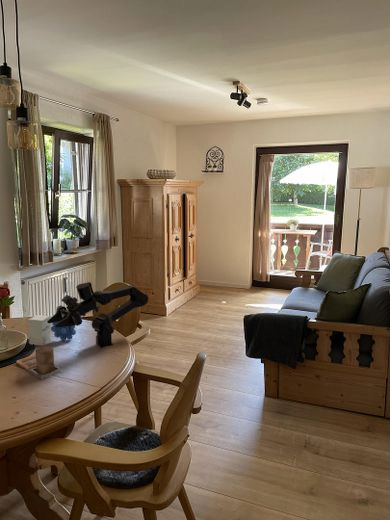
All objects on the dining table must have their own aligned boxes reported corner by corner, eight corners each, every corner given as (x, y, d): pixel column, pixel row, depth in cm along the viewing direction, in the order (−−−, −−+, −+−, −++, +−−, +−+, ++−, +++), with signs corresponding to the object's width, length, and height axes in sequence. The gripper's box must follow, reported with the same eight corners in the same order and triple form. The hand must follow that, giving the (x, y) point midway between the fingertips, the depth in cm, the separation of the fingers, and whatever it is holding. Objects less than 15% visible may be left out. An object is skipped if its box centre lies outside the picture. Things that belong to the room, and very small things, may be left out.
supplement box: (42, 345, 186) (41, 320, 183) (28, 344, 187) (27, 319, 185) (51, 340, 193) (50, 315, 190) (37, 338, 194) (36, 314, 192)
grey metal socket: (49, 365, 165) (49, 362, 165) (61, 371, 160) (60, 368, 159) (30, 372, 158) (30, 369, 158) (41, 379, 153) (41, 376, 153)
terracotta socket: (39, 355, 174) (38, 353, 174) (51, 362, 168) (51, 359, 168) (16, 363, 167) (16, 360, 166) (28, 370, 160) (28, 367, 160)
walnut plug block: (48, 368, 163) (46, 345, 161) (54, 371, 159) (53, 348, 158) (36, 372, 159) (35, 349, 157) (43, 376, 156) (41, 352, 154)
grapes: (50, 344, 187) (49, 321, 185) (52, 339, 193) (50, 316, 191) (76, 342, 190) (75, 319, 188) (76, 337, 196) (75, 314, 194)
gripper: (68, 289, 181) (37, 304, 172) (86, 294, 167) (52, 311, 158) (77, 310, 184) (46, 326, 175) (94, 317, 170) (62, 334, 161)
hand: (51, 324), depth 167 cm, fingers open, 9 cm apart
